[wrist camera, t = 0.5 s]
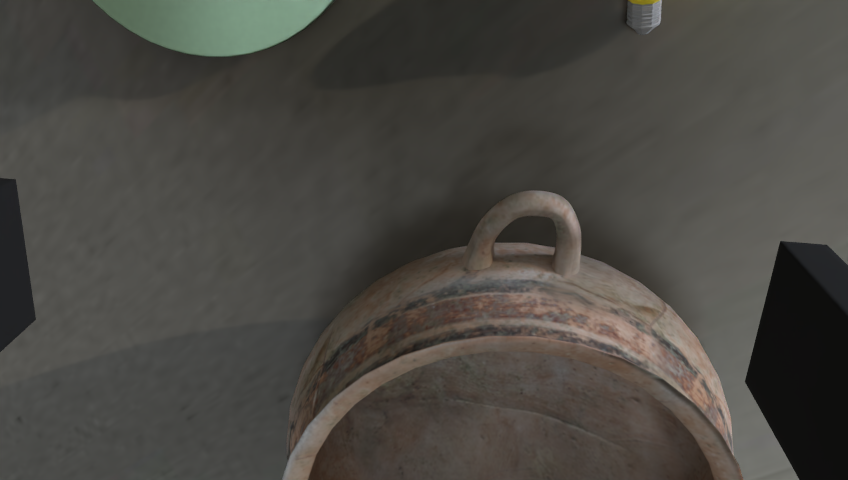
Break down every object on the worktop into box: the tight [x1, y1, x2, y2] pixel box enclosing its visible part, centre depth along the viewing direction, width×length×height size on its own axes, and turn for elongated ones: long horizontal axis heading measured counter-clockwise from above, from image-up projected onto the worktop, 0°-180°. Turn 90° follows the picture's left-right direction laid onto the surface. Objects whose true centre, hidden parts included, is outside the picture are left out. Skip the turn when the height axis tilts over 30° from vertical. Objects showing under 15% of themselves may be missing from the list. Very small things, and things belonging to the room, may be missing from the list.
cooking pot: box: [282, 190, 743, 480], centre depth 35 cm, size 25×19×12 cm
